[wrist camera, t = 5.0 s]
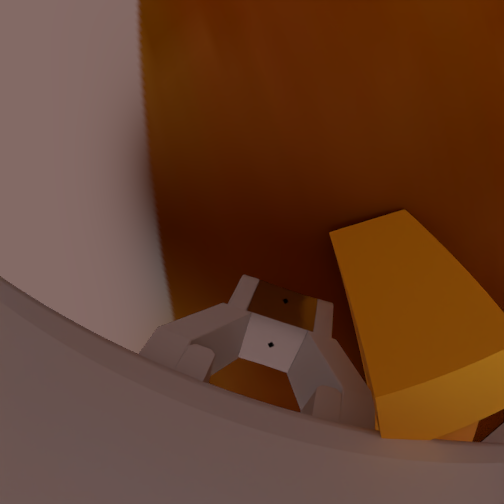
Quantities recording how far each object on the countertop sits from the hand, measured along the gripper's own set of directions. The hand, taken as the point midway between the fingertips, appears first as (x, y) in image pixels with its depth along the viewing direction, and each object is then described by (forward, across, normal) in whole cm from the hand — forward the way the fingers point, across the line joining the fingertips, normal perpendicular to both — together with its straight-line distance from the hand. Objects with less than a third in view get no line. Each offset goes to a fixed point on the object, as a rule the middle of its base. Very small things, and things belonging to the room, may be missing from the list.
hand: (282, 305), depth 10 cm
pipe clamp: (+2, -6, +2) cm, 6 cm away
